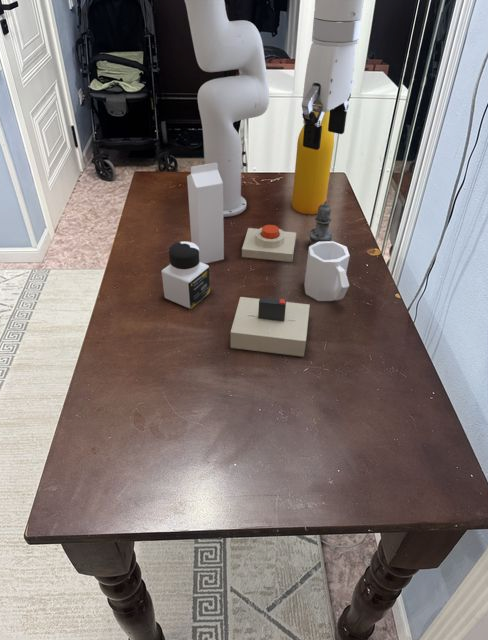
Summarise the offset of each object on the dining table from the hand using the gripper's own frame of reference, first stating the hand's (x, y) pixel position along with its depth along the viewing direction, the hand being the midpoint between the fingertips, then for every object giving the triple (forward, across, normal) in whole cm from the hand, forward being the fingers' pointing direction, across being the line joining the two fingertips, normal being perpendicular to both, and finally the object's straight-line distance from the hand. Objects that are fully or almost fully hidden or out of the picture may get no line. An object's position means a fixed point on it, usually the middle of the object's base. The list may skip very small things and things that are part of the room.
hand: (323, 139), depth 91 cm
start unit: (+30, -5, -14) cm, 33 cm away
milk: (+30, +6, -24) cm, 39 cm away
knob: (+26, +21, +3) cm, 34 cm away
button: (+26, -5, -14) cm, 30 cm away
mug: (+31, +3, +7) cm, 31 cm away
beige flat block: (+31, +21, +3) cm, 37 cm away
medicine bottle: (+30, +21, -18) cm, 41 cm away
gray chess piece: (+30, -13, -4) cm, 33 cm away
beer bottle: (+30, -29, -16) cm, 45 cm away
